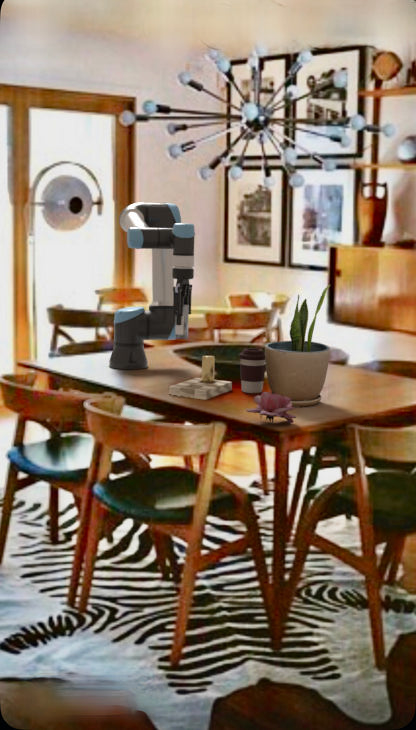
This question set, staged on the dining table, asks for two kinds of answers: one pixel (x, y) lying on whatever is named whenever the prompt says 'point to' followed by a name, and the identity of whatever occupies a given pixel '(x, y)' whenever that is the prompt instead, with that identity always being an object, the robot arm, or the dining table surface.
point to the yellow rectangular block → (208, 369)
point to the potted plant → (298, 361)
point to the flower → (273, 406)
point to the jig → (200, 388)
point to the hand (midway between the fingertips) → (181, 333)
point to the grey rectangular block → (185, 325)
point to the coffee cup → (252, 370)
